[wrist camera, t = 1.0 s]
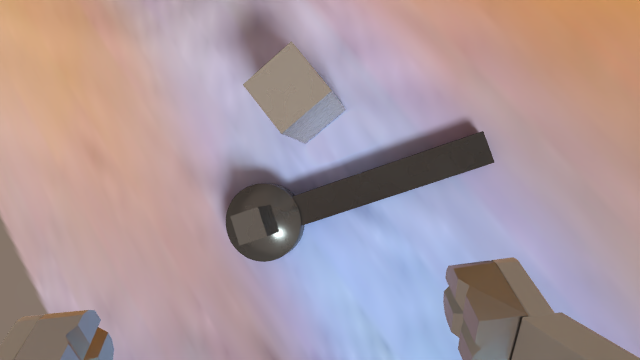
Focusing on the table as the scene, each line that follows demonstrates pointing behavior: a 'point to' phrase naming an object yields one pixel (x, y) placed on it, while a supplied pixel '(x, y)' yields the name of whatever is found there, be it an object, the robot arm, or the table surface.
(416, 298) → the table surface
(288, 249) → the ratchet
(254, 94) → the tan wooden block
